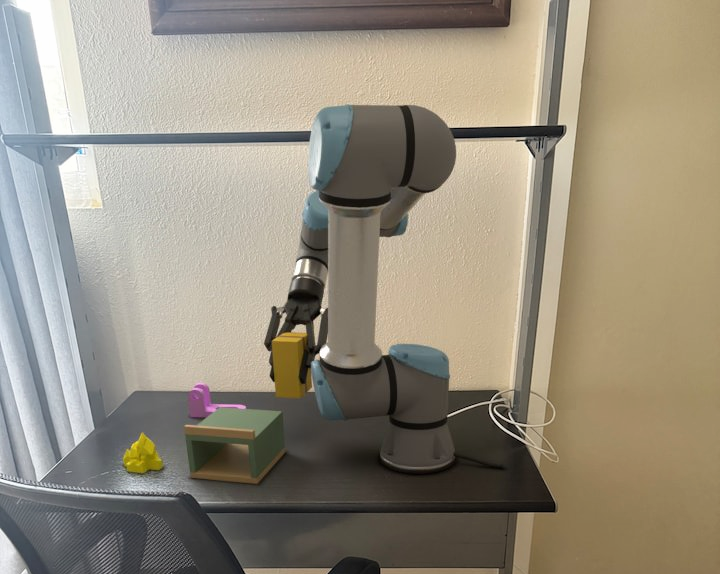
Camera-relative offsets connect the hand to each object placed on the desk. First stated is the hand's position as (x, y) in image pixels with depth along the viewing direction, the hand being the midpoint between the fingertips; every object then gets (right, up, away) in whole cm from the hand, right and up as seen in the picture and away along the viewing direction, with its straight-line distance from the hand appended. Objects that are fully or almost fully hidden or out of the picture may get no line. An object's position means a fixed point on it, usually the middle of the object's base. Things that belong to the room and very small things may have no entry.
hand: (287, 379), depth 146 cm
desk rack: (-9, -18, -3) cm, 20 cm away
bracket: (-19, -5, +26) cm, 32 cm away
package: (+1, -2, +5) cm, 5 cm away
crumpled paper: (-29, -18, -3) cm, 35 cm away
